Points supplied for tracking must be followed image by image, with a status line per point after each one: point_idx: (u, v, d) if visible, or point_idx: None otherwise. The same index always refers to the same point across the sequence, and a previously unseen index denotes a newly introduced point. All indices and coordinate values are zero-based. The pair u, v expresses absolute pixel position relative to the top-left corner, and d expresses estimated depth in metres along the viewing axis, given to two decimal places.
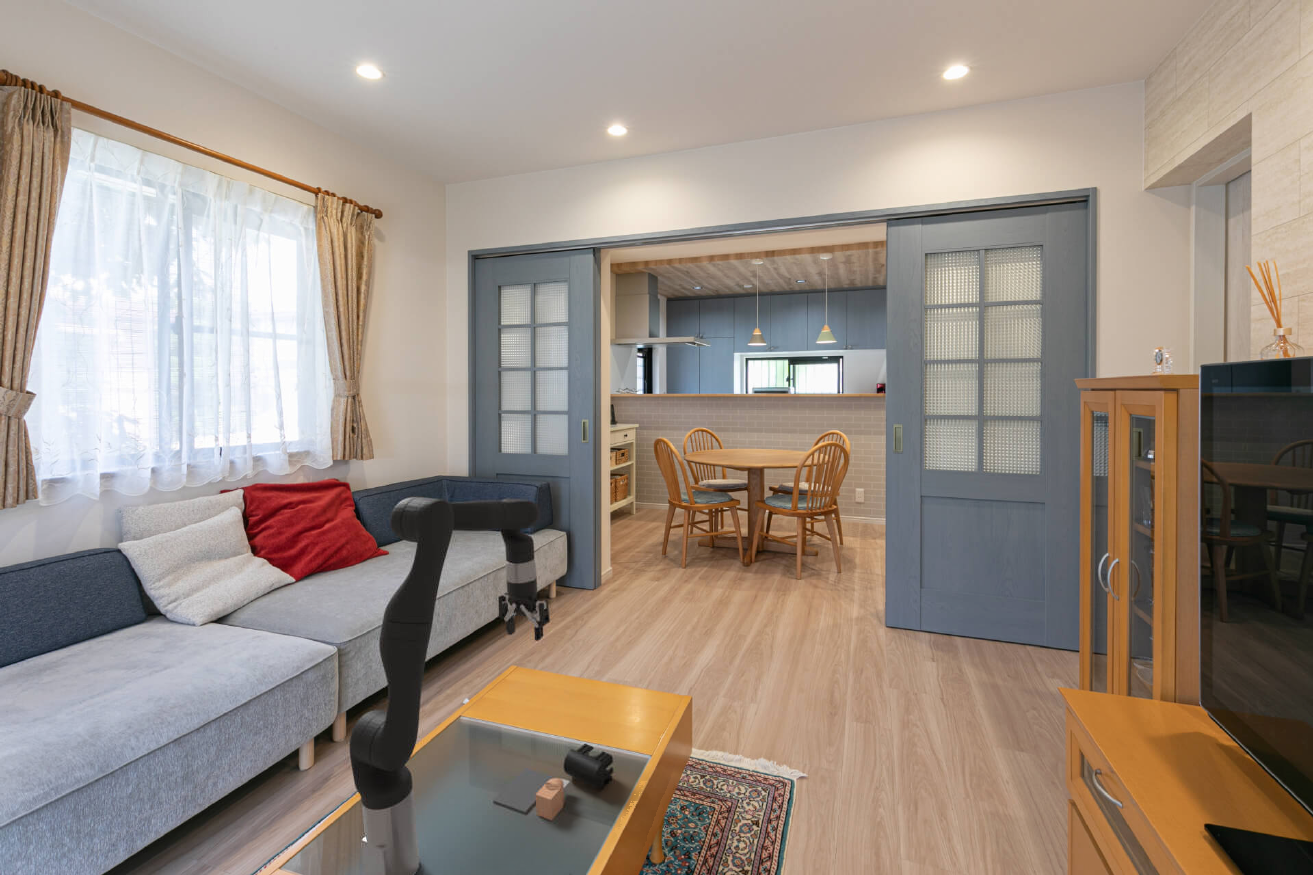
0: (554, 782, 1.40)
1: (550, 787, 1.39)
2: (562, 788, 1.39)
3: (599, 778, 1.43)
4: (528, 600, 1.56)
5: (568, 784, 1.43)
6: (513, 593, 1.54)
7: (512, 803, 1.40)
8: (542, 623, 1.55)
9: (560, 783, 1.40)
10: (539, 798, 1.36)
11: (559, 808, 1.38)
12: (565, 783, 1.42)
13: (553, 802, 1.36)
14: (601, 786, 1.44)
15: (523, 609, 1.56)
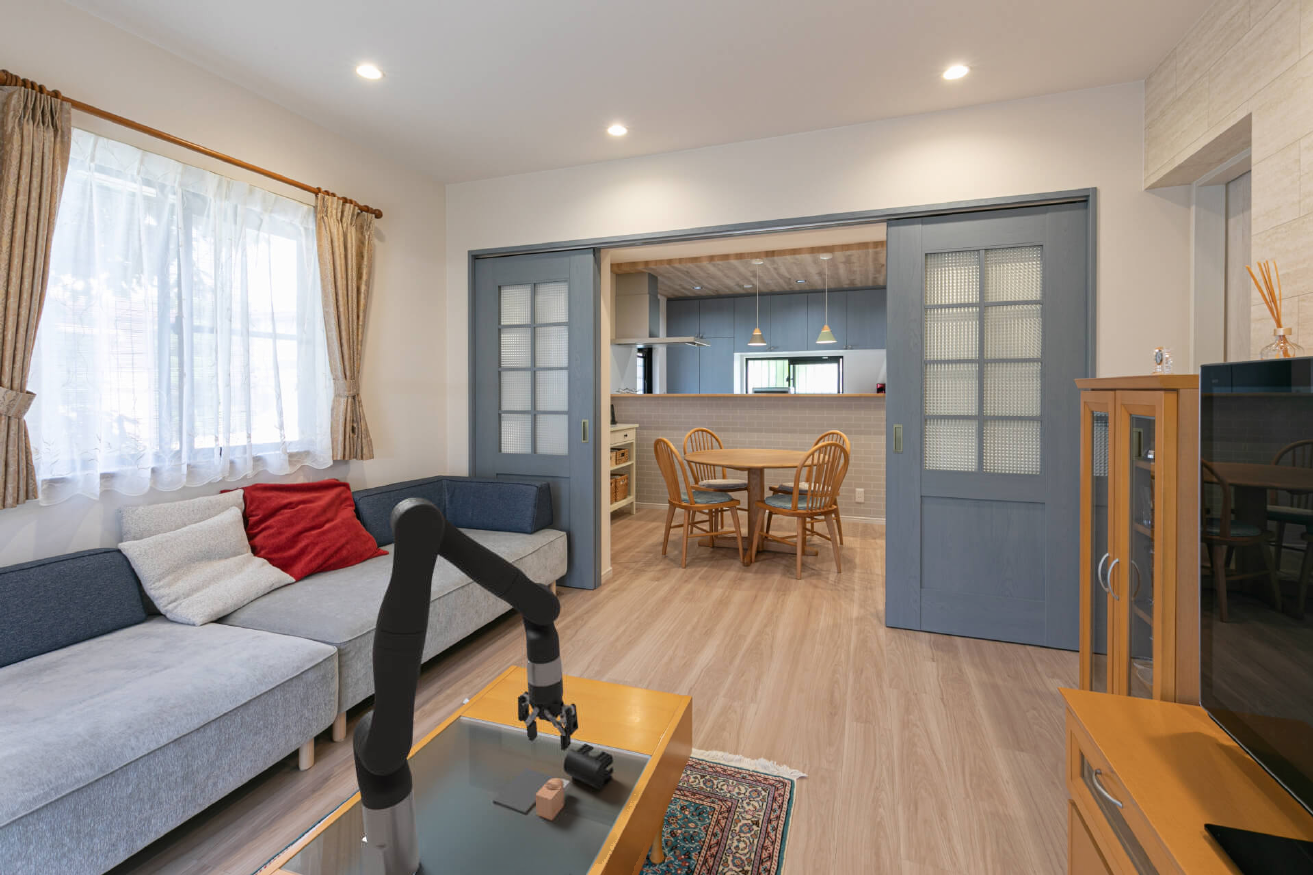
0: (554, 782, 1.40)
1: (550, 787, 1.39)
2: (562, 788, 1.39)
3: (599, 778, 1.43)
4: (553, 704, 1.34)
5: (568, 784, 1.43)
6: (535, 698, 1.32)
7: (512, 803, 1.40)
8: (570, 732, 1.32)
9: (560, 783, 1.40)
10: (539, 798, 1.36)
11: (559, 808, 1.38)
12: (565, 783, 1.42)
13: (553, 802, 1.36)
14: (601, 786, 1.44)
15: (547, 714, 1.34)
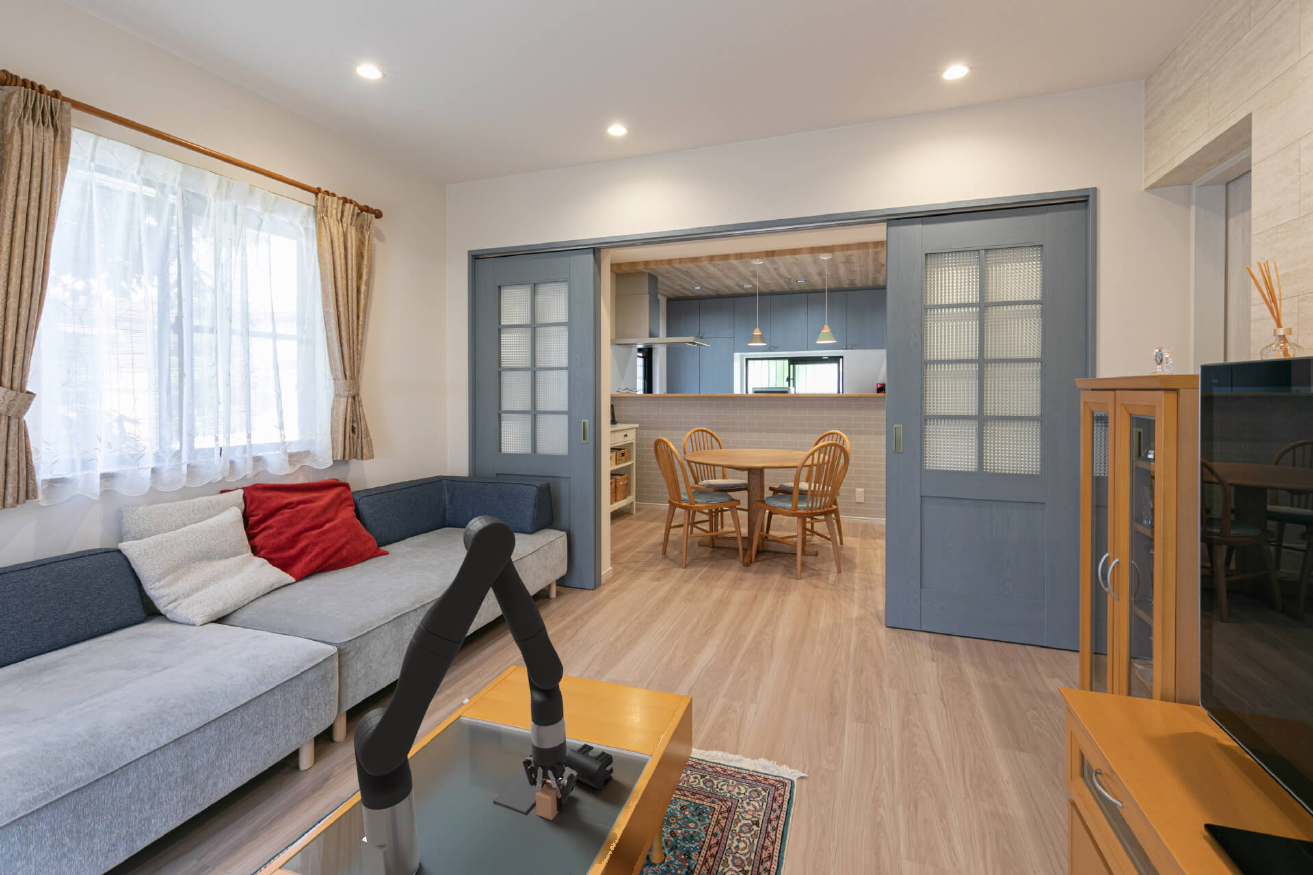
0: None
1: (550, 787, 1.39)
2: None
3: (599, 778, 1.43)
4: (556, 764, 1.36)
5: None
6: (539, 759, 1.34)
7: (512, 803, 1.40)
8: (566, 794, 1.35)
9: None
10: (539, 798, 1.36)
11: None
12: None
13: (552, 802, 1.36)
14: (601, 786, 1.44)
15: (551, 775, 1.36)
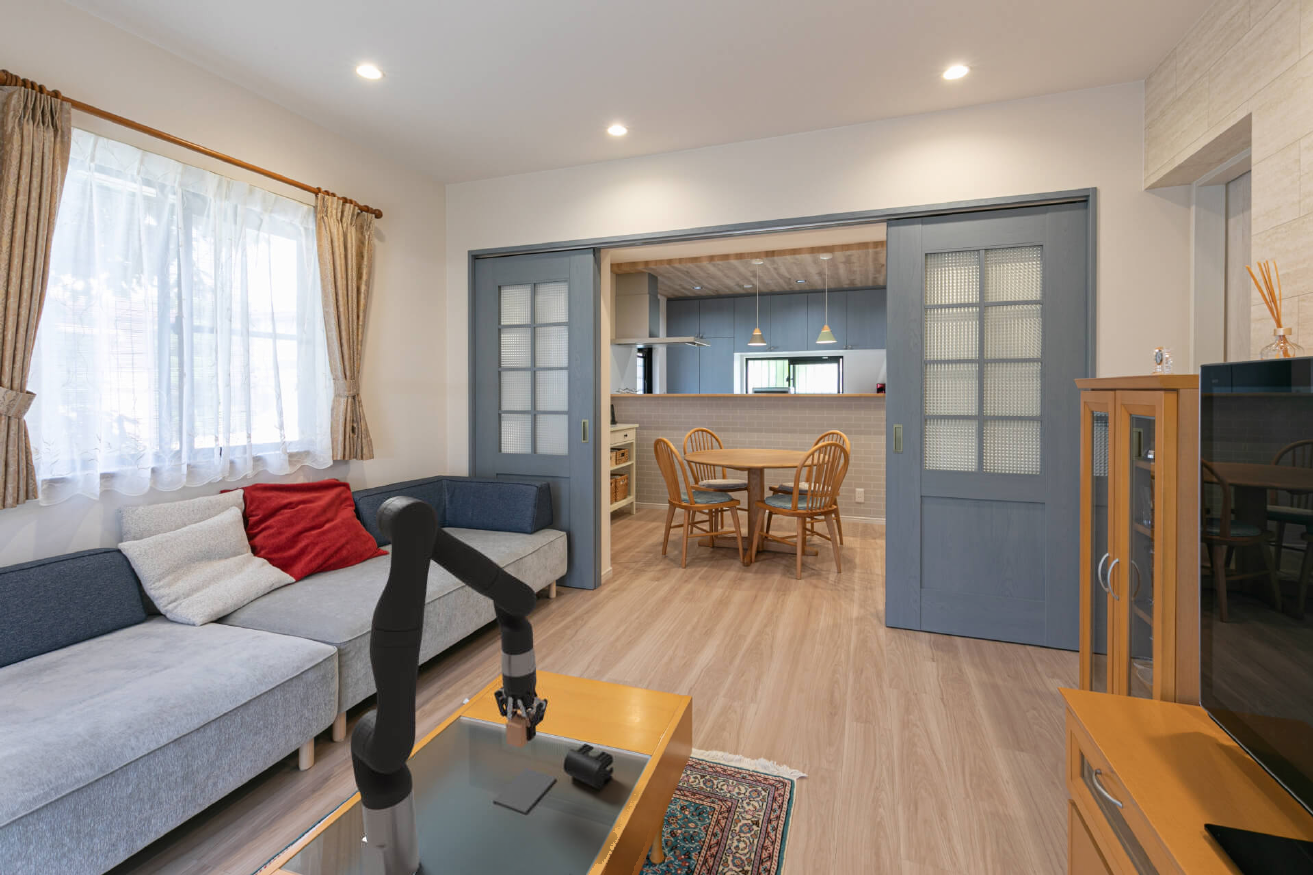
0: None
1: (520, 717, 1.42)
2: None
3: (599, 778, 1.43)
4: (526, 694, 1.39)
5: None
6: (509, 687, 1.37)
7: (512, 803, 1.40)
8: (535, 723, 1.39)
9: None
10: (509, 727, 1.40)
11: None
12: None
13: (522, 731, 1.39)
14: (601, 786, 1.44)
15: (520, 704, 1.39)
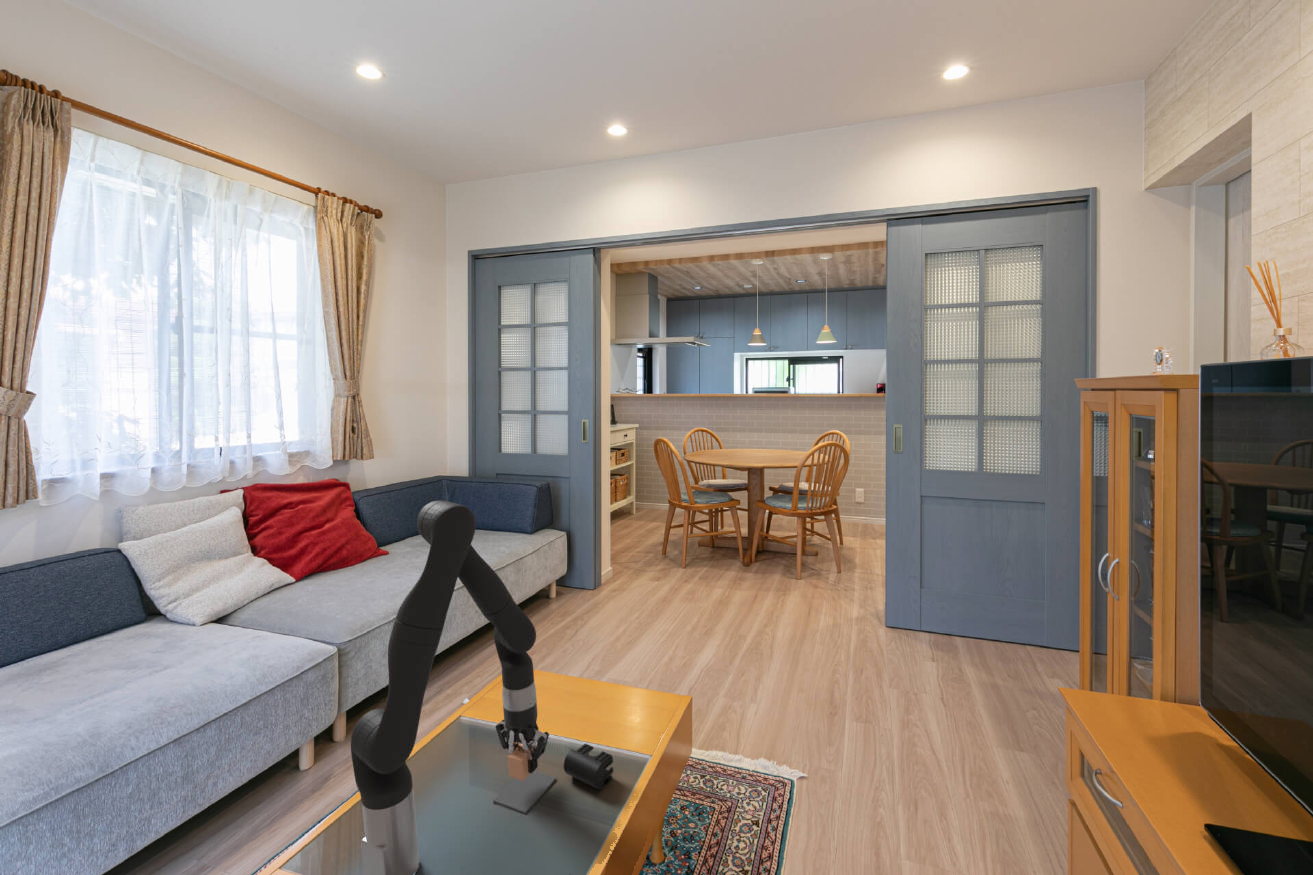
0: None
1: (522, 750, 1.44)
2: None
3: (599, 778, 1.43)
4: (527, 727, 1.41)
5: None
6: (510, 722, 1.39)
7: (512, 803, 1.40)
8: (536, 756, 1.40)
9: None
10: (511, 760, 1.41)
11: None
12: None
13: (524, 764, 1.41)
14: (601, 786, 1.44)
15: (522, 738, 1.41)
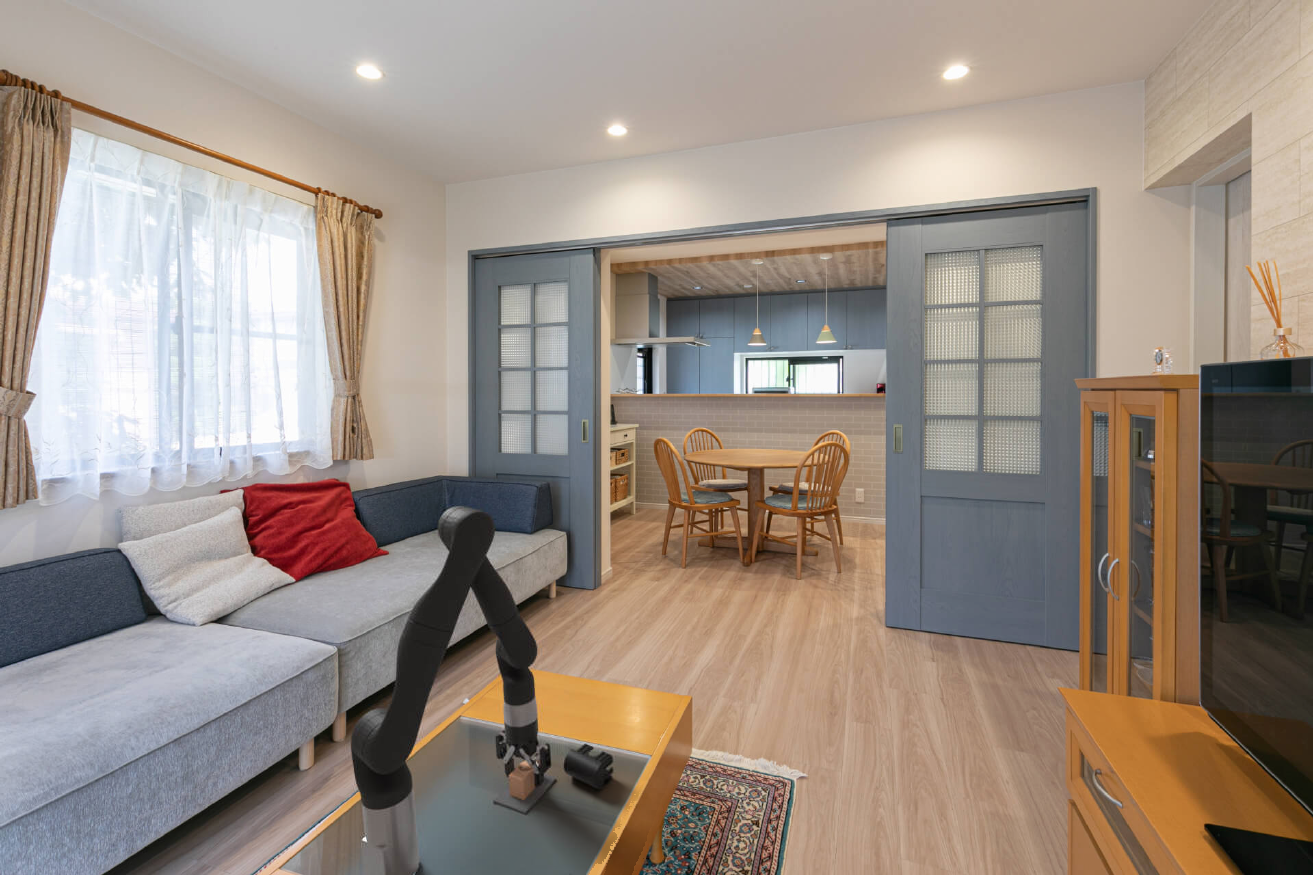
0: (527, 764, 1.46)
1: (523, 768, 1.44)
2: None
3: (599, 778, 1.43)
4: (528, 743, 1.41)
5: None
6: (511, 737, 1.39)
7: (512, 803, 1.40)
8: (543, 770, 1.40)
9: None
10: (512, 779, 1.42)
11: (531, 789, 1.44)
12: (538, 765, 1.48)
13: (525, 783, 1.41)
14: (601, 786, 1.44)
15: (523, 753, 1.41)
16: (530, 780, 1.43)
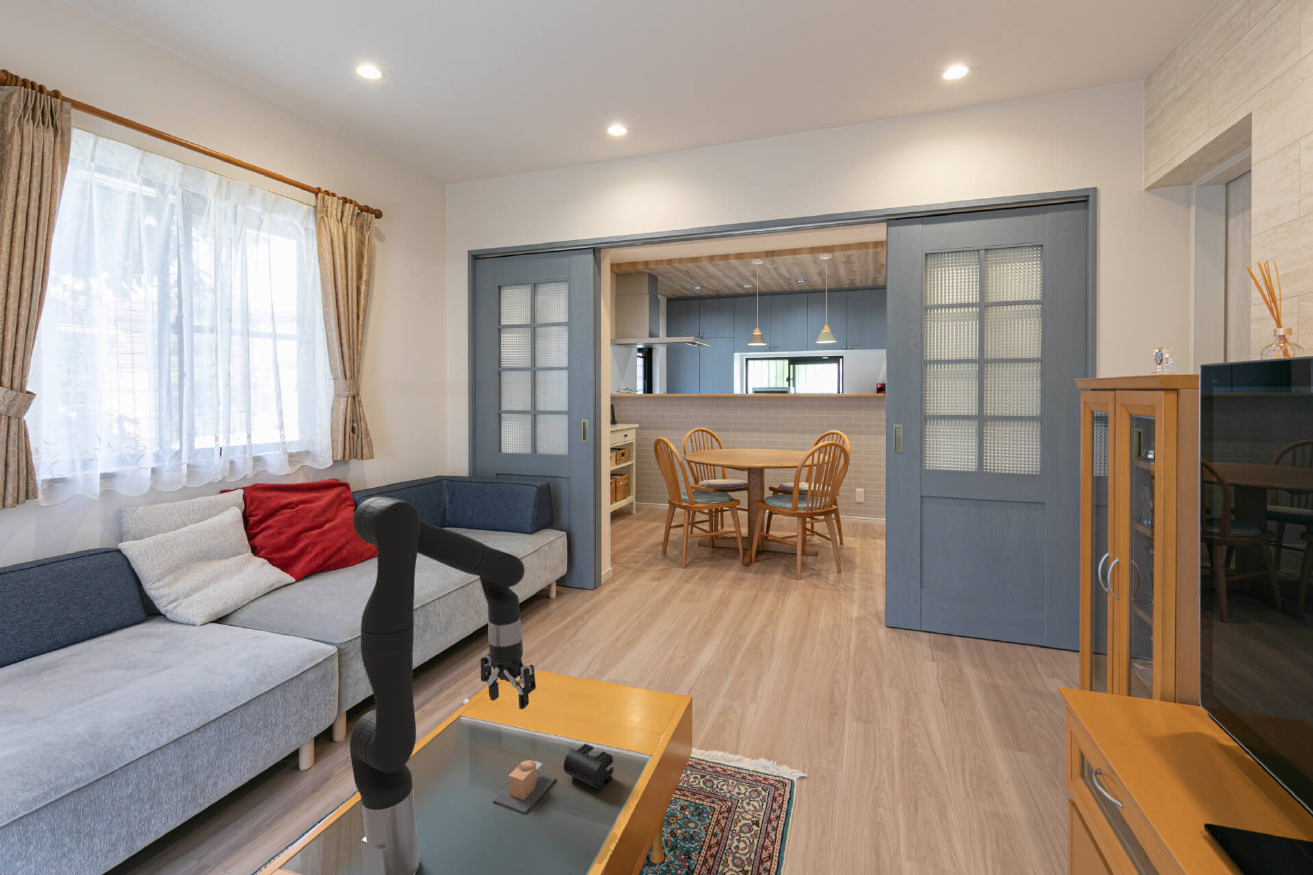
0: (527, 764, 1.46)
1: (523, 768, 1.44)
2: (534, 770, 1.45)
3: (599, 778, 1.43)
4: (512, 664, 1.41)
5: (541, 766, 1.48)
6: (495, 657, 1.40)
7: (512, 803, 1.40)
8: (527, 691, 1.40)
9: (533, 765, 1.45)
10: (512, 779, 1.42)
11: (531, 789, 1.44)
12: (538, 765, 1.48)
13: (525, 783, 1.41)
14: (601, 786, 1.44)
15: (507, 674, 1.41)
16: (530, 780, 1.43)
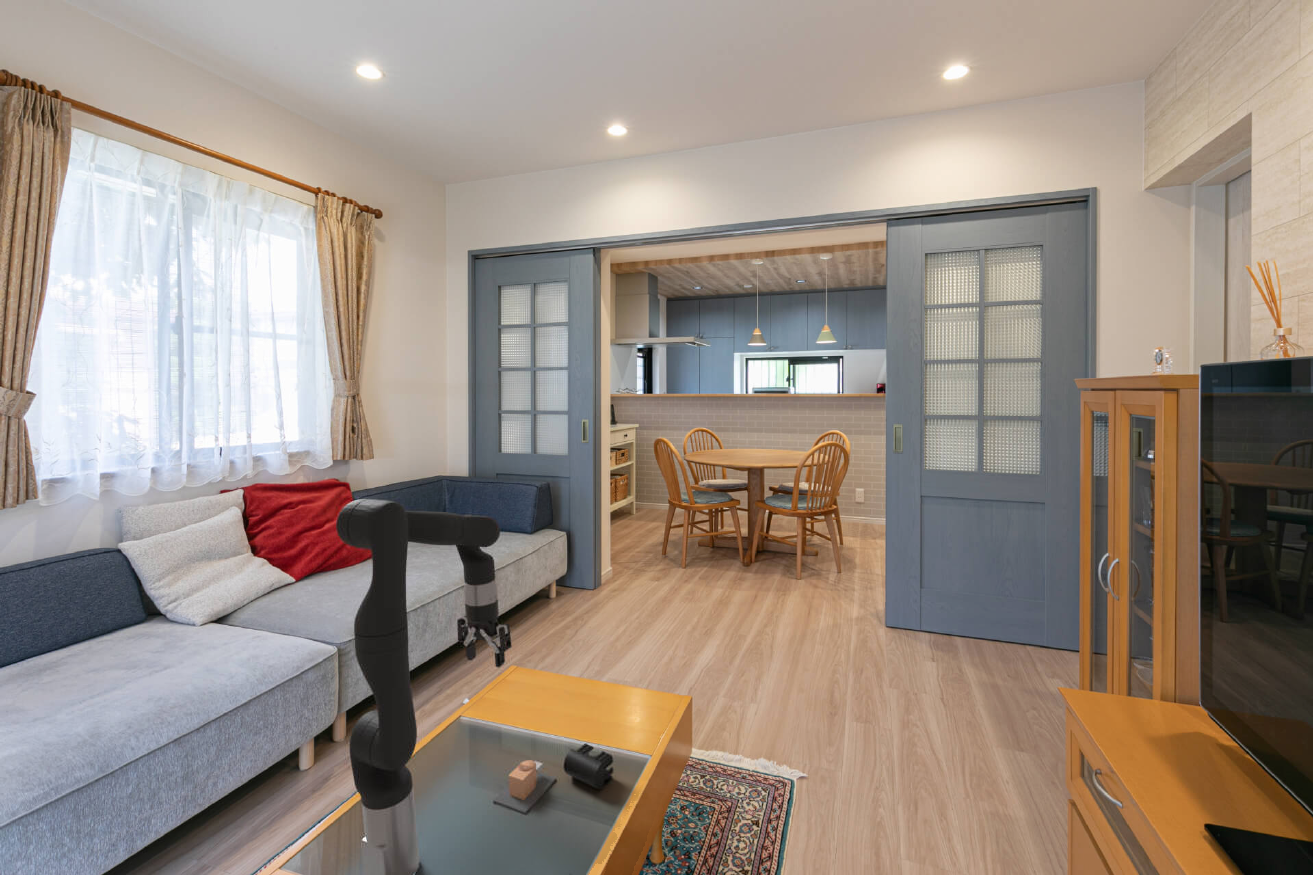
0: (527, 764, 1.46)
1: (523, 768, 1.44)
2: (534, 770, 1.45)
3: (599, 778, 1.43)
4: (488, 624, 1.45)
5: (541, 766, 1.48)
6: (471, 617, 1.43)
7: (512, 803, 1.40)
8: (503, 649, 1.44)
9: (533, 765, 1.45)
10: (512, 779, 1.42)
11: (531, 789, 1.44)
12: (538, 765, 1.48)
13: (525, 783, 1.41)
14: (601, 786, 1.44)
15: (483, 633, 1.45)
16: (530, 780, 1.43)
